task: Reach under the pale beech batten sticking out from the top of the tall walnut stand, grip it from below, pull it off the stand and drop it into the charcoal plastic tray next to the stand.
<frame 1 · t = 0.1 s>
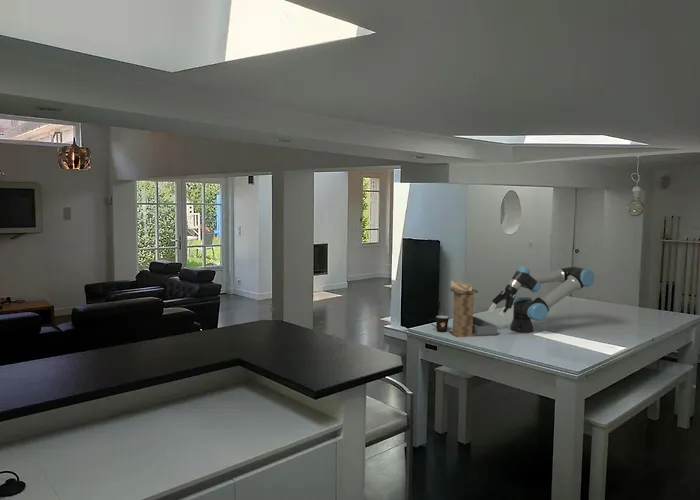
hand: (494, 313, 348), 14 cm above the table, tool tilted 35°, fingers open, 13 cm apart
coffee mug: (439, 331, 360), on the table
tray: (475, 330, 365), on the table
batten: (460, 288, 353), point 30 cm above the table, touching stand
stand: (462, 334, 351), on the table
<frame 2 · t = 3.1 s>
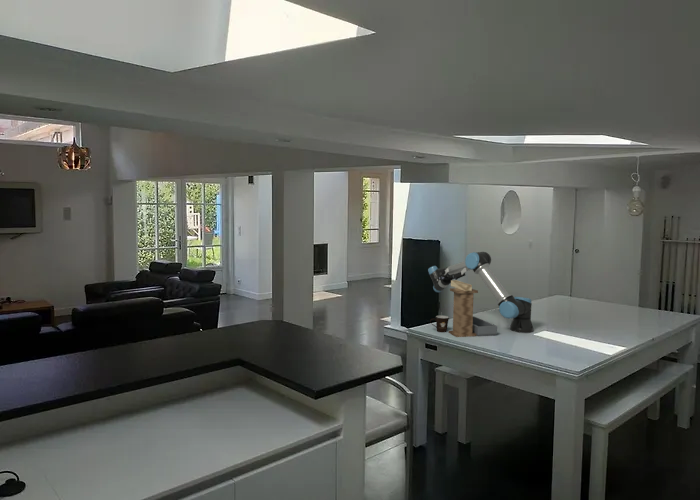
hand: (456, 269, 376), 40 cm above the table, tool pointing upward, fingers open, 13 cm apart
nothing on the table moved.
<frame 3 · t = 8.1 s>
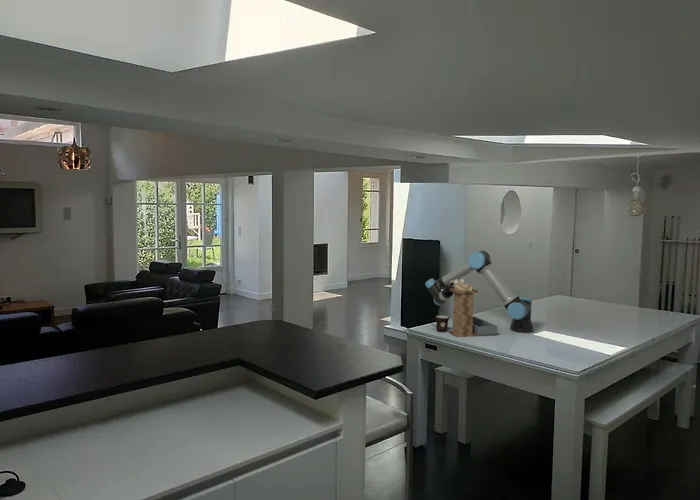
hand: (459, 281, 354), 35 cm above the table, tool pointing upward, fingers closed on batten, 4 cm apart
batten: (460, 288, 353), point 30 cm above the table, touching gripper, stand
everything else where it was.
when the fingers open (27 cm above the table, at t = 15.4 s): batten drops 19 cm and tips over, resting on tray.
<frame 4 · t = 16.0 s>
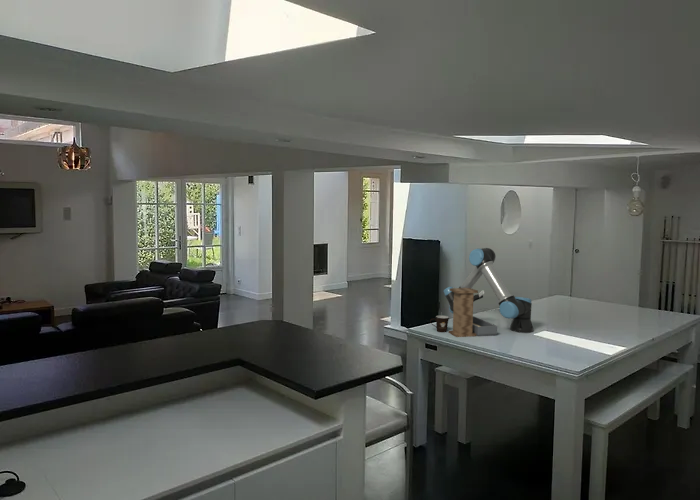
hand: (474, 292, 366), 26 cm above the table, tool pointing upward, fingers open, 13 cm apart
batten: (473, 325, 364), point 3 cm above the table, tilted 90°, touching tray
everything else where it was.
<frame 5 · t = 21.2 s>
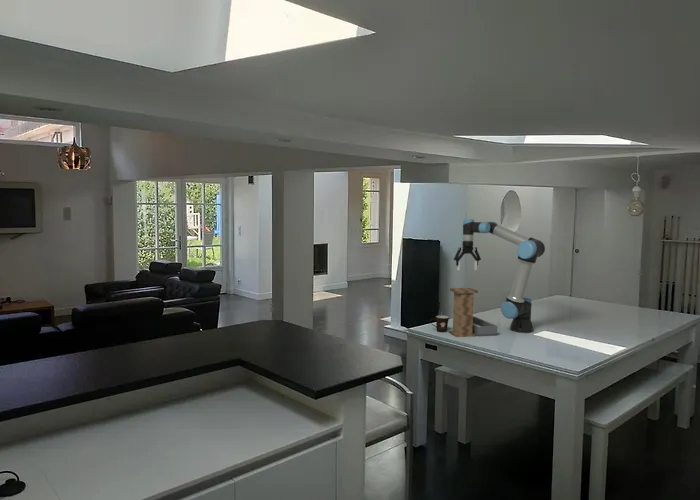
hand: (467, 270, 383), 39 cm above the table, tool pointing down, fingers open, 13 cm apart
nothing on the table moved.
at the end: batten inside the target area on the tray (1.8 cm from its centre), point 3.0 cm above the tray's base; the gripper is holding nothing; batten moved 30.6 cm from its start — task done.
